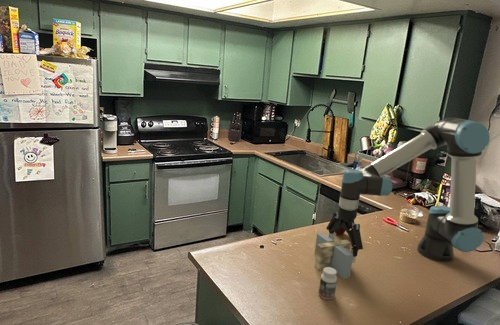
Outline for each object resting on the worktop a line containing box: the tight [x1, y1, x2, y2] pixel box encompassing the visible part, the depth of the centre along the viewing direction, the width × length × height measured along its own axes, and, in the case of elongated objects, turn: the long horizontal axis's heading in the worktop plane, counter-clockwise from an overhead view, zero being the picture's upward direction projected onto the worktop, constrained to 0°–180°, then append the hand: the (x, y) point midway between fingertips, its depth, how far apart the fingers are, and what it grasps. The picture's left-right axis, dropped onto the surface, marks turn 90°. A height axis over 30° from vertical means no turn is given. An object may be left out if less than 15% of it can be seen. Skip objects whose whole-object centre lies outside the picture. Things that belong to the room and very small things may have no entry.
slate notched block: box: [313, 232, 353, 280], centre depth 144 cm, size 20×3×10 cm, turn 24°
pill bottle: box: [318, 267, 338, 300], centre depth 124 cm, size 6×6×10 cm
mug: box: [334, 211, 346, 236], centre depth 175 cm, size 11×8×10 cm
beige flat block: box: [314, 239, 352, 271], centre depth 144 cm, size 15×3×10 cm, turn 115°
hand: (340, 254), depth 146 cm, fingers open, 13 cm apart
